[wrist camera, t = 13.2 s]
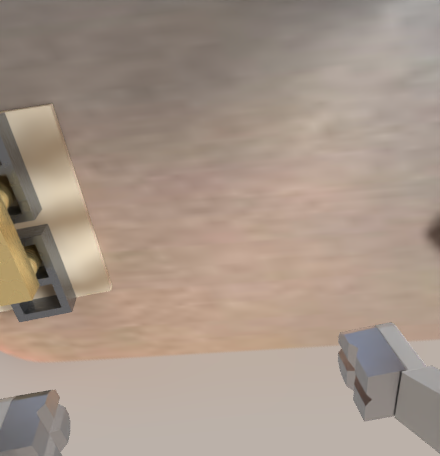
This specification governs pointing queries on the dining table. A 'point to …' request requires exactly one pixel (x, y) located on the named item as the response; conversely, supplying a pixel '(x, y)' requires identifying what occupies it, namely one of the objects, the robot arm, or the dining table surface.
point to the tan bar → (15, 256)
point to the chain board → (58, 200)
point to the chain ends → (33, 234)
